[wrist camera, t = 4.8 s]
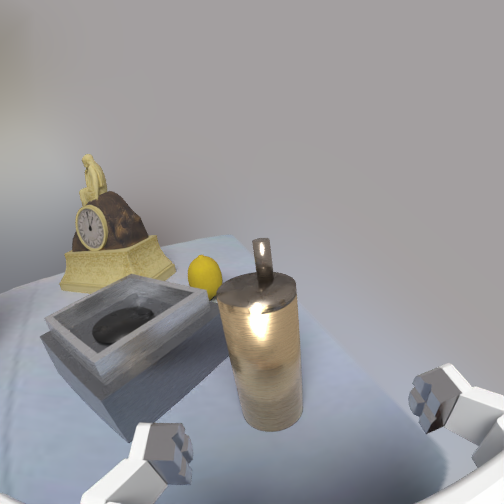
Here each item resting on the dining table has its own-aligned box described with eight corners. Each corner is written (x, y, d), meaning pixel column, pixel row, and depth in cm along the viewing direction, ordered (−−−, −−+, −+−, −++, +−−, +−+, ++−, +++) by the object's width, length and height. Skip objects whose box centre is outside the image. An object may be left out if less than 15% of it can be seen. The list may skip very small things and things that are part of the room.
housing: (128, 443, 21) (88, 379, 18) (58, 372, 30) (32, 319, 28) (237, 347, 35) (225, 286, 32) (147, 317, 44) (133, 268, 42)
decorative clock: (61, 290, 60) (32, 171, 51) (94, 271, 72) (70, 163, 62) (143, 299, 52) (109, 137, 42) (176, 272, 63) (151, 136, 54)
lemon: (195, 310, 45) (184, 264, 43) (191, 296, 50) (182, 253, 48) (228, 303, 46) (220, 256, 44) (222, 289, 51) (214, 247, 49)
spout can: (285, 439, 21) (265, 266, 16) (231, 419, 24) (191, 258, 19) (312, 397, 25) (305, 236, 20) (262, 383, 28) (239, 233, 23)
